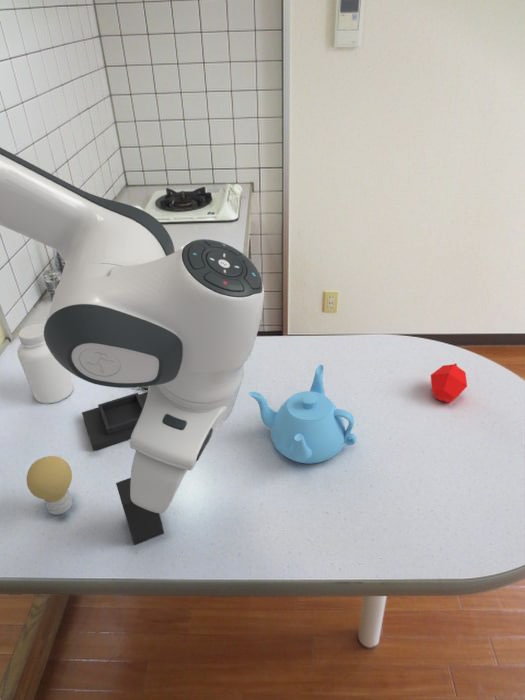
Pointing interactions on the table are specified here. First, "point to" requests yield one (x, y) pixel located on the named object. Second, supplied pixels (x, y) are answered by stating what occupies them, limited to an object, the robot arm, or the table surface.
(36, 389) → the pill bottle
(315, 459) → the teapot
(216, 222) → the table surface
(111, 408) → the base pad
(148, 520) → the pad block
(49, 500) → the light bulb
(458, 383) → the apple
